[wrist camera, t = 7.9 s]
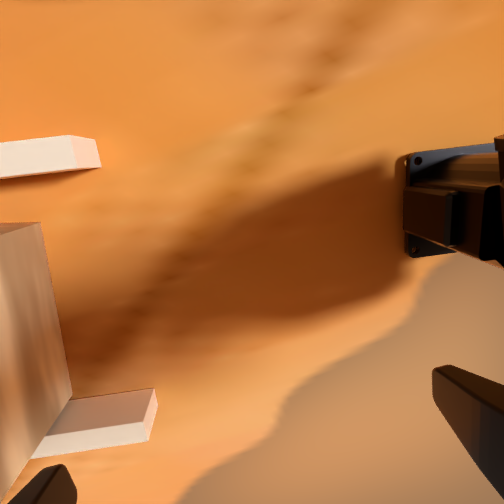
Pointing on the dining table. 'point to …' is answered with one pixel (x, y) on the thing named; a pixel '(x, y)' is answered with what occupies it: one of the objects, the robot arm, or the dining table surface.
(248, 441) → the dining table surface
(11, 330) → the metallic block
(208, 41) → the dining table surface
